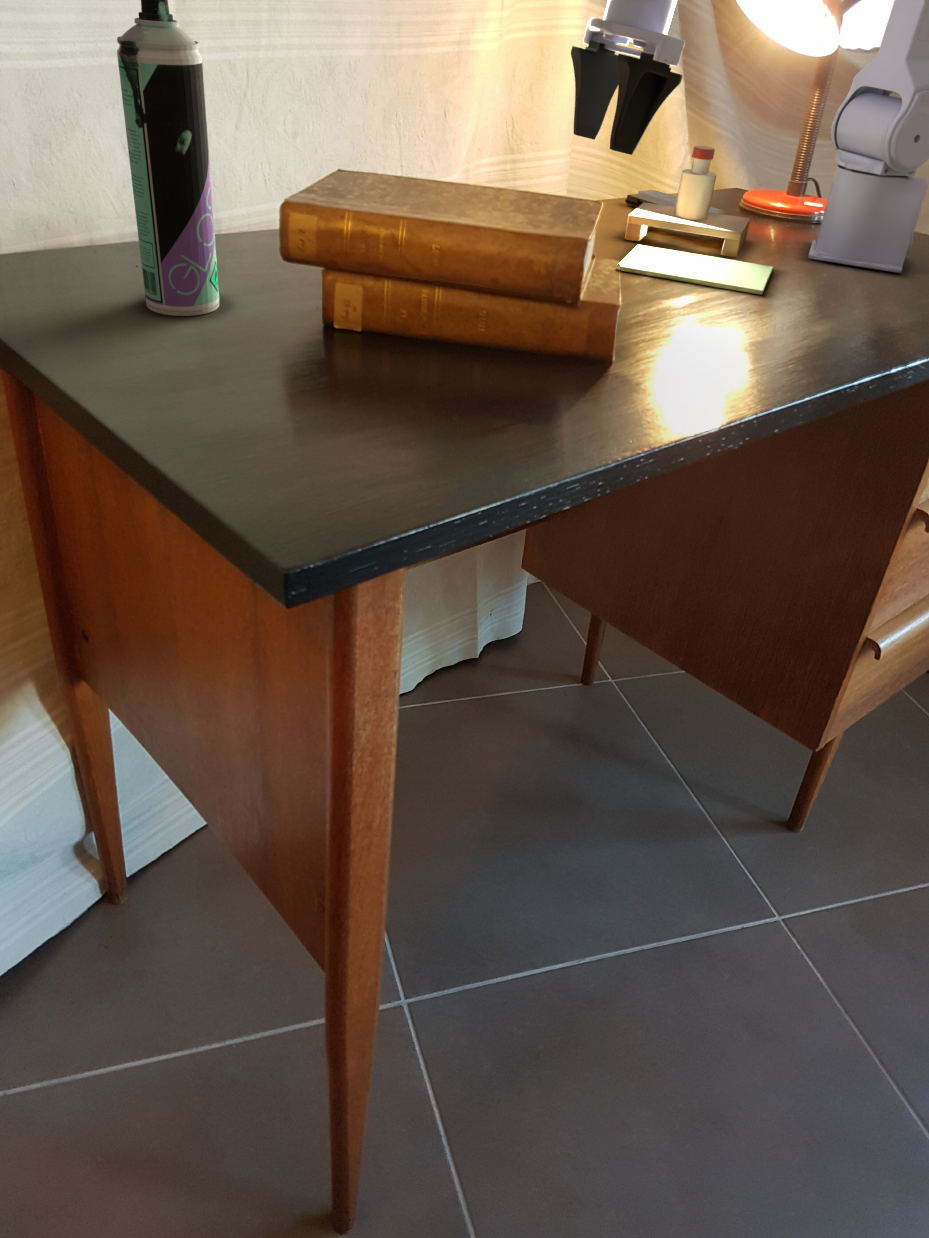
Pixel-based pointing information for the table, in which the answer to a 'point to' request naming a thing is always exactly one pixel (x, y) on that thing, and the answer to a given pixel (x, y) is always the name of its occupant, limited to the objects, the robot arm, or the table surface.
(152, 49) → the spray can
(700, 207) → the spice bottle
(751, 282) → the mat
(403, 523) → the table surface
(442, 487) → the table surface
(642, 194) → the harmonica
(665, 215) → the small bench
